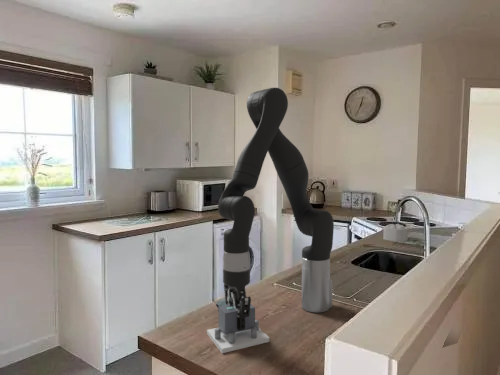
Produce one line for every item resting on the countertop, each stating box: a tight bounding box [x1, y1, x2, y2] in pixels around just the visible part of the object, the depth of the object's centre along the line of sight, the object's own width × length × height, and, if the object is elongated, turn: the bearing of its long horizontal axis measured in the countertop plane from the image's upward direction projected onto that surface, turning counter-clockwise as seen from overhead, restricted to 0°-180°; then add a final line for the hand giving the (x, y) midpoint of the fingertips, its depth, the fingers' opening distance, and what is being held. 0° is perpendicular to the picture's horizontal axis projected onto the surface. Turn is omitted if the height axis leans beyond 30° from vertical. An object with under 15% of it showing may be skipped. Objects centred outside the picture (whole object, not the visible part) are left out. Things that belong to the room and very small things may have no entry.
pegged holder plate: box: [206, 319, 270, 354], centre depth 109 cm, size 14×12×4 cm
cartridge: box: [218, 303, 256, 335], centre depth 108 cm, size 9×5×6 cm, turn 115°
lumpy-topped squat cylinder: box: [382, 223, 409, 242], centre depth 228 cm, size 10×13×9 cm
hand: (236, 325), depth 109 cm, fingers closed on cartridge, 5 cm apart
